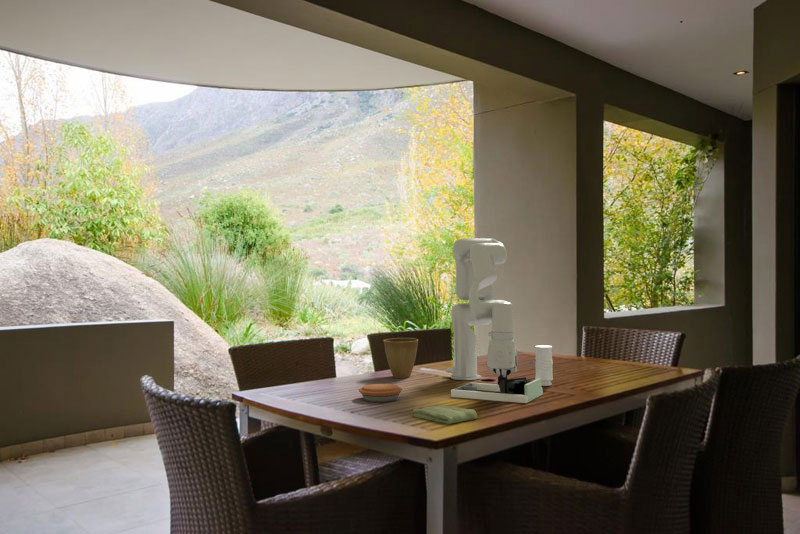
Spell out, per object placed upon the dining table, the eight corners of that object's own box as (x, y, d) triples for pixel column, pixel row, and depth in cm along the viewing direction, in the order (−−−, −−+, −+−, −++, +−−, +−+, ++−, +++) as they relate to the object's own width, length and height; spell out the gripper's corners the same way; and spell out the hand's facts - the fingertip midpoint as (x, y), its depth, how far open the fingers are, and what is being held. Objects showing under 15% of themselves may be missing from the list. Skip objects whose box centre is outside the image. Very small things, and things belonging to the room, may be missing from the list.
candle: (551, 382, 268) (551, 345, 269) (554, 385, 262) (553, 347, 262) (534, 382, 269) (533, 345, 269) (536, 385, 262) (535, 347, 262)
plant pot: (382, 374, 296) (382, 338, 296) (416, 373, 298) (415, 337, 298) (385, 380, 281) (385, 341, 281) (420, 378, 283) (420, 340, 283)
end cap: (520, 394, 243) (520, 376, 243) (534, 397, 237) (534, 378, 237) (499, 398, 238) (499, 378, 238) (512, 401, 232) (512, 381, 232)
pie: (393, 404, 229) (393, 389, 229) (351, 402, 234) (351, 387, 234) (408, 396, 243) (408, 382, 243) (369, 394, 249) (368, 380, 249)
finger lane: (451, 396, 241) (450, 380, 241) (470, 389, 257) (470, 373, 257) (526, 403, 227) (526, 385, 227) (542, 394, 243) (542, 377, 243)
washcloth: (441, 411, 218) (441, 401, 218) (480, 420, 204) (479, 409, 204) (409, 417, 210) (409, 406, 210) (448, 427, 196) (447, 415, 196)
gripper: (478, 336, 241) (479, 387, 242) (518, 338, 234) (518, 391, 234) (487, 334, 248) (487, 383, 248) (526, 336, 240) (526, 387, 240)
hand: (502, 387), depth 241 cm, fingers closed
